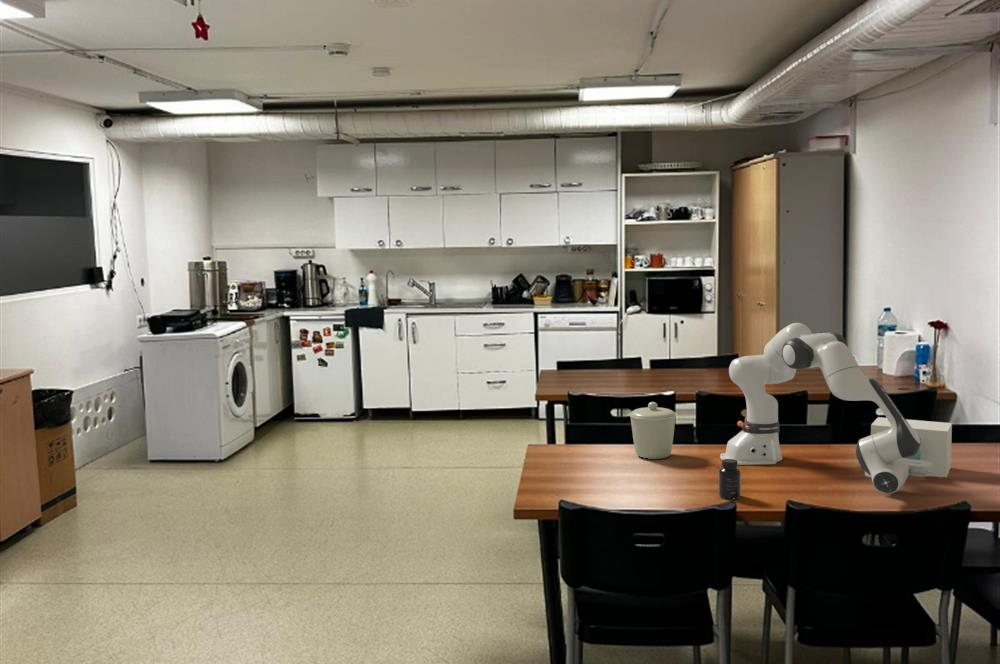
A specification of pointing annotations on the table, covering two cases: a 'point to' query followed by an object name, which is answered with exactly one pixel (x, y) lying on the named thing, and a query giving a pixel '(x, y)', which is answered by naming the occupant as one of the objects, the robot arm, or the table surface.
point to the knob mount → (928, 442)
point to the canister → (653, 431)
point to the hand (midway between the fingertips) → (900, 459)
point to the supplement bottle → (729, 479)
